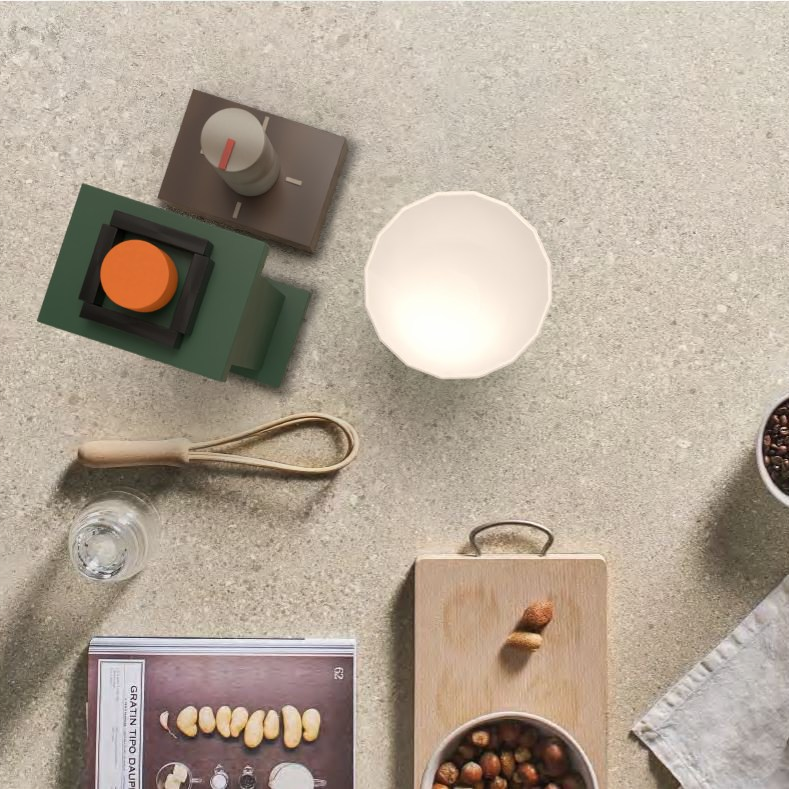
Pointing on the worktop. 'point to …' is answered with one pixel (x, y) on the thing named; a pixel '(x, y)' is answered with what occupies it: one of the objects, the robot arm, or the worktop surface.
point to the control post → (177, 293)
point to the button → (138, 276)
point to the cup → (457, 284)
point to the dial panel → (282, 201)
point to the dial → (240, 151)
